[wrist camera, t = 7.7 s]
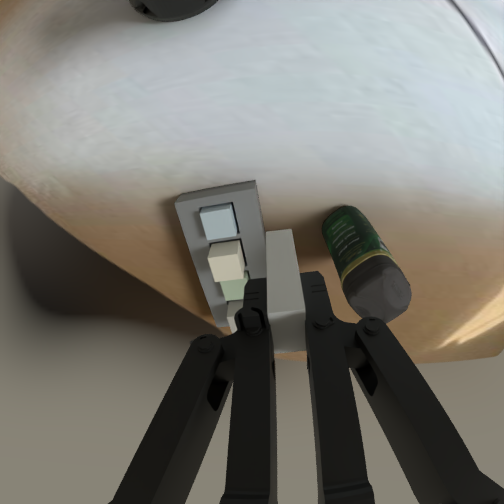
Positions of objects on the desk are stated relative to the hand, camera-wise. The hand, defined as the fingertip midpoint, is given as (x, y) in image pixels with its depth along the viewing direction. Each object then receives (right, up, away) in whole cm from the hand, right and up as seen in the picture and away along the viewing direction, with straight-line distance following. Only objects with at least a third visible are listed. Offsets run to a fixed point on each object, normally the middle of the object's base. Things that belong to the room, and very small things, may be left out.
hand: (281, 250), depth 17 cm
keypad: (-5, -1, +32) cm, 33 cm away
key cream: (-5, 0, +28) cm, 28 cm away
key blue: (-6, +6, +27) cm, 28 cm away
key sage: (-4, -4, +33) cm, 33 cm away
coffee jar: (+15, +4, +29) cm, 33 cm away
